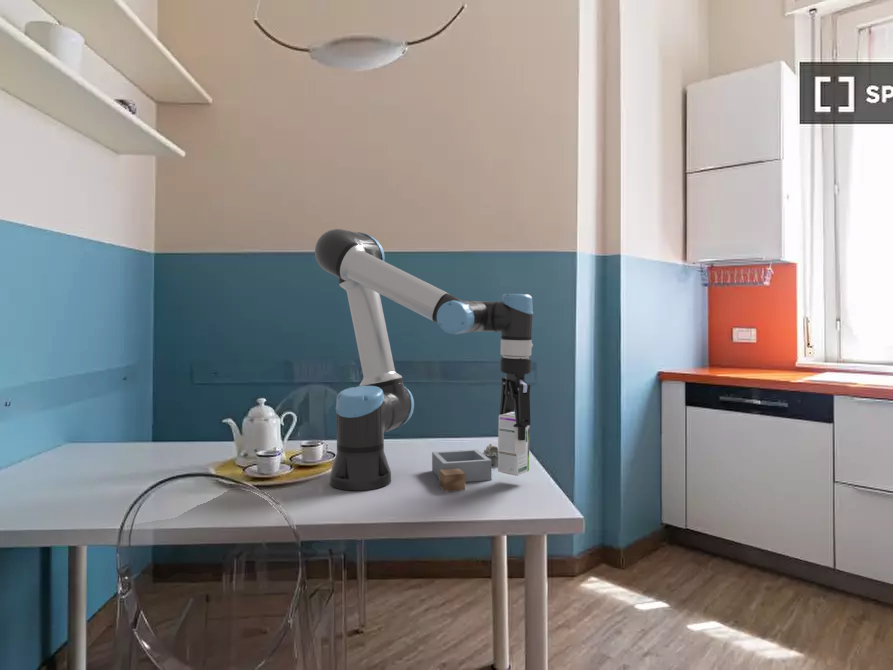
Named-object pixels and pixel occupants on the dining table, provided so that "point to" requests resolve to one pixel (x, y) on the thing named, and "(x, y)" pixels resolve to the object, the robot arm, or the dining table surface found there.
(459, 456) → the socket
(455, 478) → the walnut stub
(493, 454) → the egg carton
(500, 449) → the syrup box
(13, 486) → the dining table surface
